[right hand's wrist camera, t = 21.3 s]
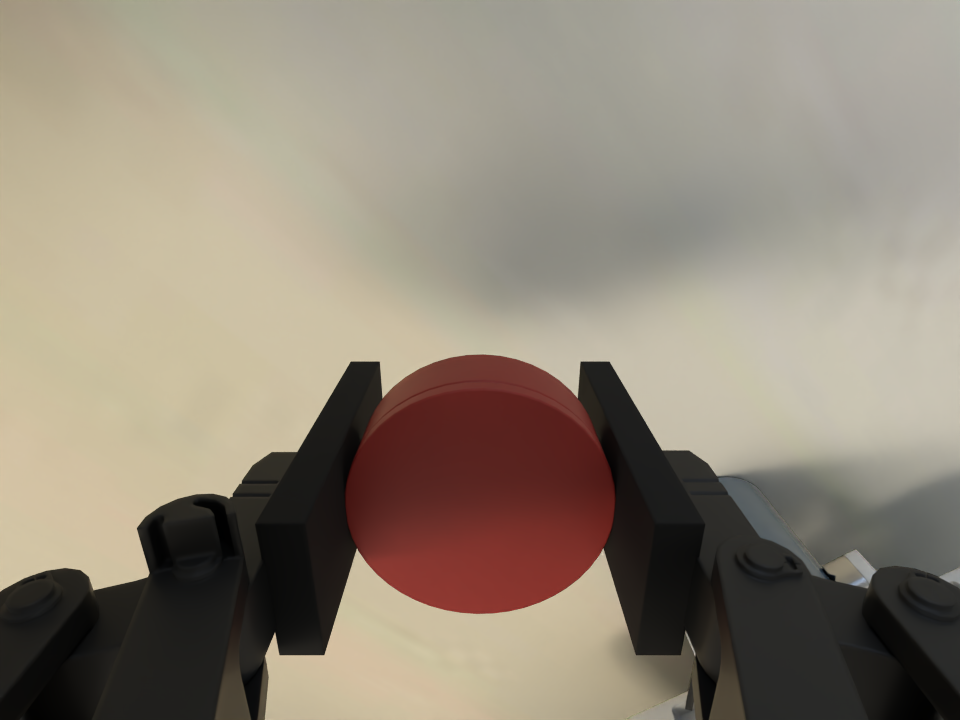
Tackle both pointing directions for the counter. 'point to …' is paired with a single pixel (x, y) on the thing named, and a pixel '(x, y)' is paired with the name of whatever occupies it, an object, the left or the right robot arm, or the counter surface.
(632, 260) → the counter surface
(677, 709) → the left robot arm
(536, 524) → the lid
